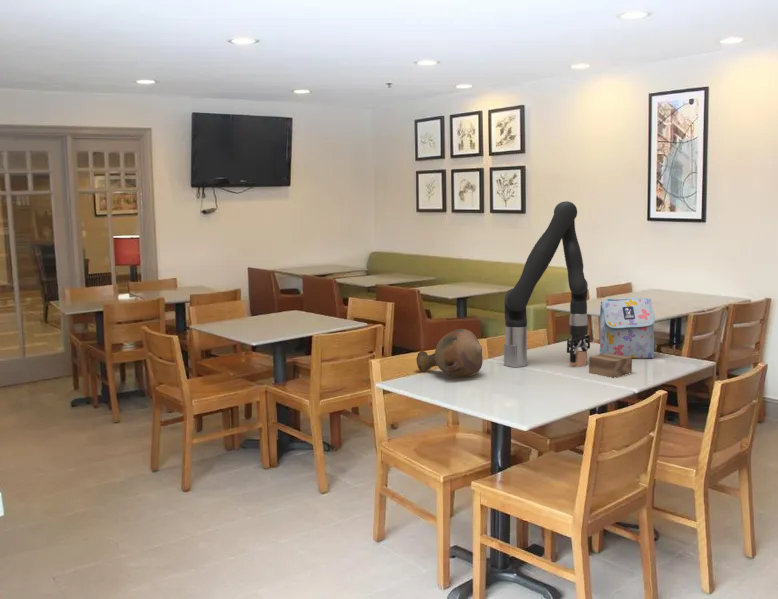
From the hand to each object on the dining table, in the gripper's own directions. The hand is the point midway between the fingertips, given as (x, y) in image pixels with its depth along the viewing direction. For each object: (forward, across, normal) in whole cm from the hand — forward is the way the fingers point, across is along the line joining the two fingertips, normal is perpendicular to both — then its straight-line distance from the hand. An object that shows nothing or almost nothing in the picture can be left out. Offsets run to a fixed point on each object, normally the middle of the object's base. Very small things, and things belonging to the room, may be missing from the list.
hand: (578, 360), depth 332 cm
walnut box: (+2, -4, -18) cm, 19 cm away
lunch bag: (+2, +29, -6) cm, 29 cm away
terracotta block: (+2, 0, 0) cm, 2 cm away
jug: (+2, -50, +30) cm, 58 cm away
